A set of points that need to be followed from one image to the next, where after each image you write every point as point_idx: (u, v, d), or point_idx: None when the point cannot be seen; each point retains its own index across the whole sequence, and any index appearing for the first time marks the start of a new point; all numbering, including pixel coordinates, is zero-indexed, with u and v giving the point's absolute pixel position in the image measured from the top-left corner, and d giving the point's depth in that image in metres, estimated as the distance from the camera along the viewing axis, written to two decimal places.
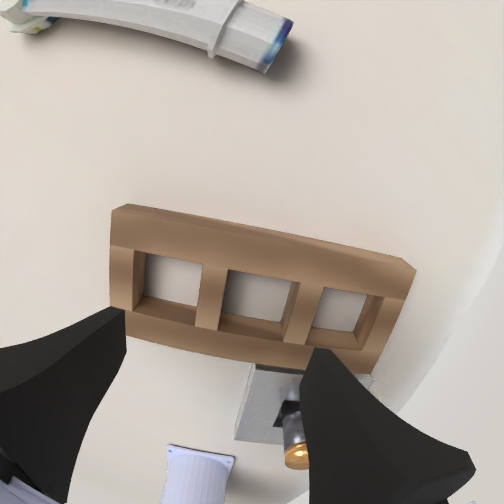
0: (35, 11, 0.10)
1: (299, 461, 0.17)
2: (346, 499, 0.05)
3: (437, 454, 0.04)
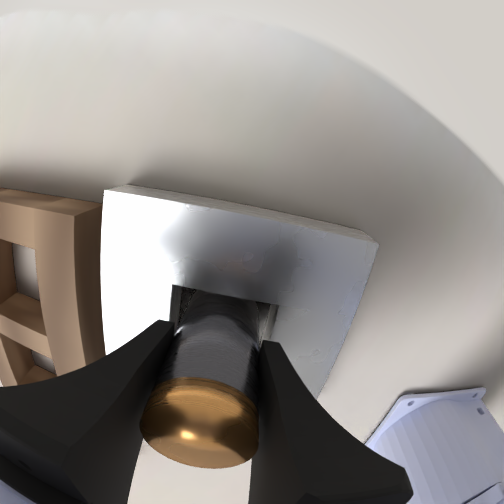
0: None
1: (200, 451, 0.06)
2: (268, 502, 0.05)
3: (363, 467, 0.04)
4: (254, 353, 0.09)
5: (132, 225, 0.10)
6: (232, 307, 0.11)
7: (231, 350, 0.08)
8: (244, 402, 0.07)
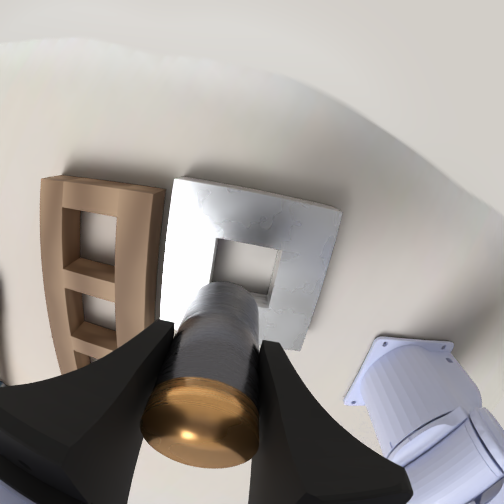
0: None
1: (200, 451, 0.06)
2: (267, 502, 0.05)
3: (362, 468, 0.04)
4: (254, 353, 0.09)
5: (192, 200, 0.16)
6: (232, 307, 0.11)
7: (231, 350, 0.08)
8: (244, 402, 0.07)
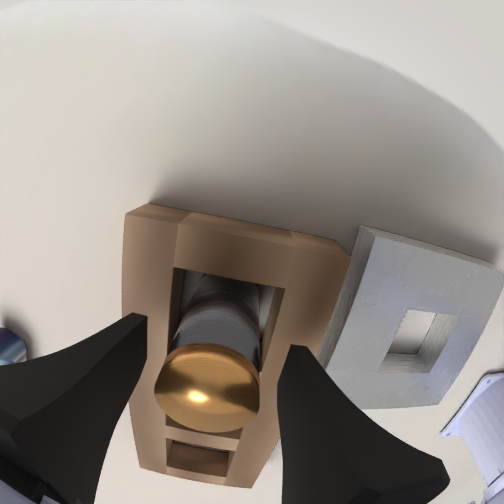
0: None
1: (207, 413, 0.08)
2: (311, 502, 0.05)
3: (405, 461, 0.04)
4: (255, 328, 0.11)
5: (392, 266, 0.12)
6: (235, 289, 0.12)
7: (235, 322, 0.10)
8: (247, 365, 0.08)
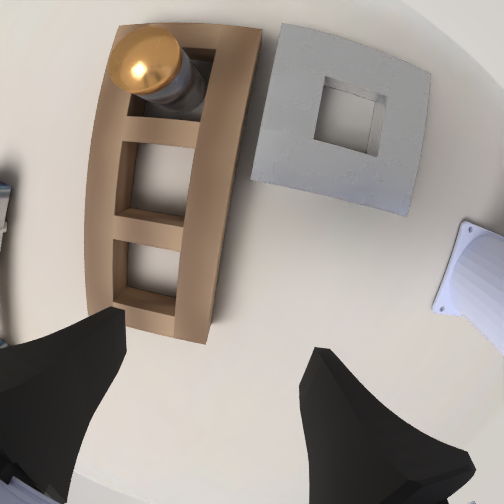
0: None
1: (140, 67, 0.09)
2: (346, 499, 0.05)
3: (437, 454, 0.04)
4: (190, 60, 0.12)
5: (300, 41, 0.13)
6: None
7: None
8: None
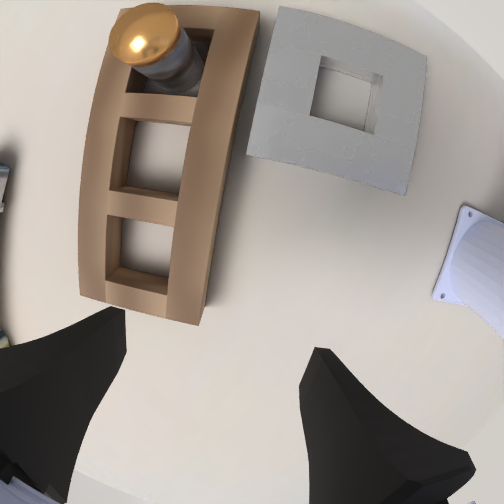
0: None
1: (139, 39, 0.09)
2: (346, 499, 0.05)
3: (437, 454, 0.04)
4: None
5: (297, 23, 0.13)
6: None
7: None
8: None
